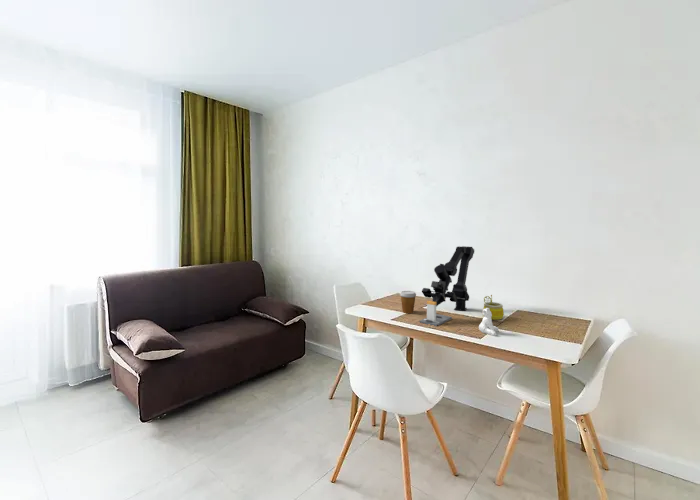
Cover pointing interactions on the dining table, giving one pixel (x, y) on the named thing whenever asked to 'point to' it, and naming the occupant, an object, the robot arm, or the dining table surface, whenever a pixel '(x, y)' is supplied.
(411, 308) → the disposable coffee cup
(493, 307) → the yellow round tub
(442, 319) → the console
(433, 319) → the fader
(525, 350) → the dining table surface
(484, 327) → the seated beast figurine
